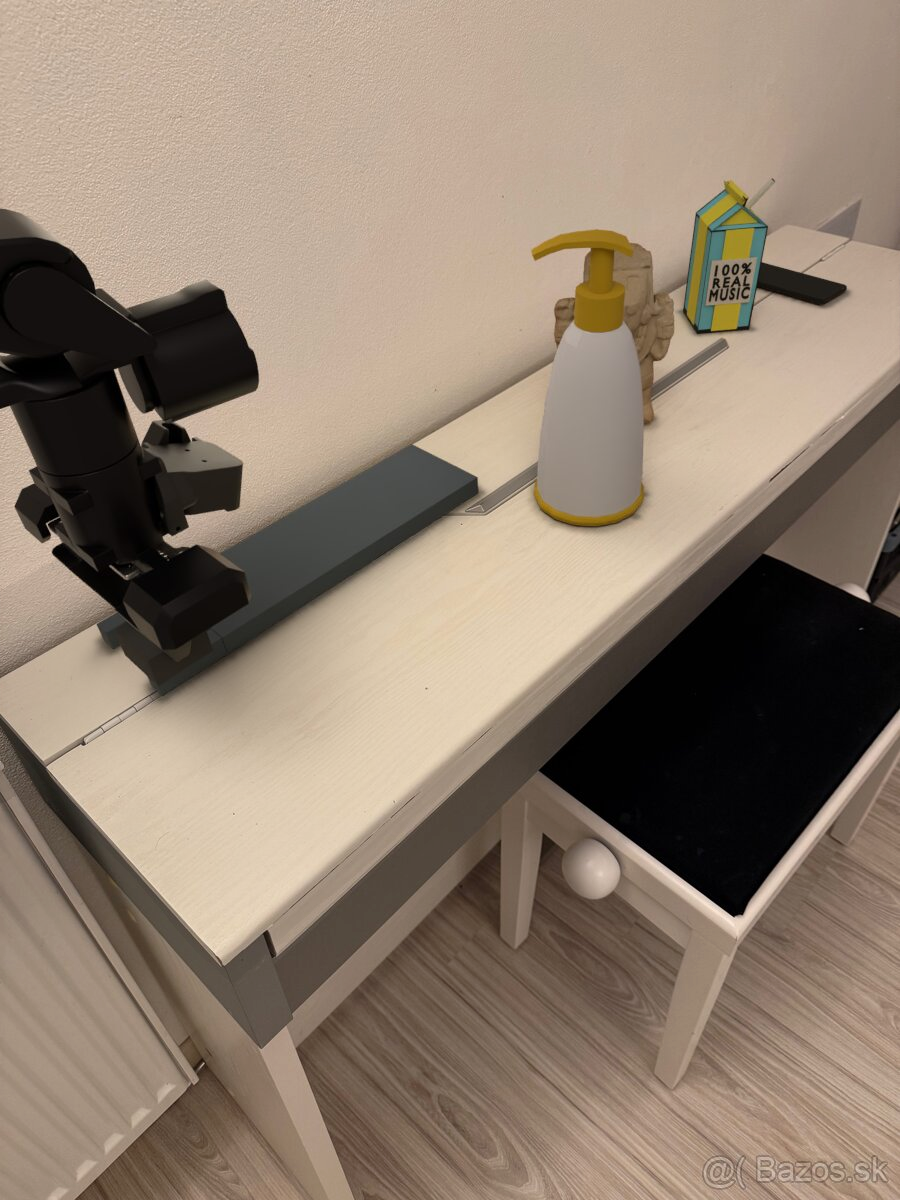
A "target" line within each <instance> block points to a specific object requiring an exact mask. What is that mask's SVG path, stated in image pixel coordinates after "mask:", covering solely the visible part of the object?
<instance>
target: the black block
mask: <svg viewBox="0 0 900 1200" xmlns="http://www.w3.org/2000/svg"><path fill="white" fill-rule="evenodd" d="M114 632H115V634H116V636H117V638H118V641H119V643H120V645H119V646H121V649H122V652H123V654H124V655H125V657H126V658H127V659H128V660H130V662H132V663H133V664H134V665H135V666H136V667H137V668H138V669H139V670H140V671H141V672H142V673H143V674H144V675H145V676H146V677H147V676H148V677H149V678H150V679H151V680H152V681H153V682H154V683H155V684H156V685H157V686H160V685H161V684H163V683H165V682H166V681H168V680H169V679H171V678H172V677H174V676H175V675H177V674H178V673H180V672H182V671H183V670H185V669H186V668H188V667H189V666H191V665H192V664H194V663H196V662H197V661H199V660H200V659H202V658H203V657H205V656H206V655H208V654H209V653H211V652H213V648H212V645H211V642H210V639H209V636H208V633H207V631H205V632H203V633H202V634H200V635H199V636H197V637H195V638H194V639H192V640H191V649H190V654H189V655H188V656H187V657H185V658H183V659H182V660H180V661H178V662H176V661H175V660H173V659H172V658H171V657H170V656H169V655H167V654H166V653H165V652H164V651H163V650H161V649H160V648H159V647H158V646H157V645H155V644H154V643H153V642H151V641H150V640H149V639H148V638H147V637H145V636H144V635H143V634H142V633H140V632H139V631H138V630H136V629H135V628H134V627H133V626H132V625H131V624H130V623H129V622H127V623H125V624H124V625H122V626H120V627H119V628H117V629H115V630H114ZM148 677H147V678H148Z"/></svg>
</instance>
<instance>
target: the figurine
mask: <svg viewBox="0 0 900 1200" xmlns="http://www.w3.org/2000/svg"><path fill="white" fill-rule="evenodd" d="M629 243H630V245H631V247H632V249H633V251H634V252H633V254H632V257H629V256H627V255H625V254H623V253H620V252H618V251H615V252H614V267H613V281H616V282H618V283H621V284H622V285H623V286H624V287H625V299H624V312H623V321H624V322H625V324H626V325H627V327H628V328H629V330H630V331H631V333H632V336H633V339H634V342H635V346H636V349H637V353H638V359H639V364H640V369H641V382H642V394H643V418H644V424H648V423H650V422H652V421H653V420H654V417H655V411H654V408H653V402H652V388H653V387H652V386H653V384H654V378H655V377H654V376H655V372H654V371H655V370H654V362H659V361H662V360H663V359H664V358H665V357H666V356H667V354H668V353H669V348H670V345H671V340H672V338H673V336H674V334H675V314H674V312H675V308H674V307H675V302H674V299H673V298H671V297H670V295H669V294H668V292H658V293H655V294H654V273H653V272H654V264H653V255H652V252H651V251H650V250H648V249H646V248H645V247H643V246H642V245H641V244H639V243H636V242H629ZM590 253H591V250H590V251H588V252H587V253H586V255H585V256H584V262H583V274H582V276H583V279H582V280H583V281H582V283H583V282H586V281H589V273H590ZM574 312H575V297H573V296H572V297H563V298H560V299H558V300H557V301H556V303H555V304H554V307H553V315H554V318H555V321H554V322H555V323H554V331H553V336H554V342H555V344H556V350H557V349H558V346H559V344H560V341H561V339H562V337H563V334H564V332H565V331H566V329H567V328H568V327H569V325H570V324H571V323H572V321H573V320H574Z"/></svg>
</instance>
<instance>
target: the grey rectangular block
mask: <svg viewBox="0 0 900 1200" xmlns="http://www.w3.org/2000/svg"><path fill="white" fill-rule="evenodd" d="M477 494H479V477H478V476H476V475H474V474H472V473H470V472H468V471H467V470H464V469H462V468H460V467H458V466H456V465H454V464H452V463H450V462H448V461H446V460H444V459H443V458H441V457H438V456H437V455H435V454H433V453H431V452H429V451H427V450H425V449H422V448H420V447H418V446H417V445H414V444H413V443H411V444H409V445H407V446H406V447H403V448H402V449H401V450H399V451H397V452H394V453H393V454H391V455H390V456H388V457H385V459H383V460H381V461H379V462H378V463H376V464H374V465H372V466H371V467H368V468H367V469H365V470H363V471H362V472H360V473H358V474H356V475H355V476H353V477H351V478H350V479H348V480H346V481H344V482H343V483H341V484H339V485H337V486H335V487H333V488H332V489H330V490H328V491H327V492H325V493H323V494H321V495H320V496H317V497H316V498H314V499H313V500H311V501H309V502H308V503H305V504H304V505H302V506H301V507H299V508H297V509H295V510H293V511H292V512H290V513H288V514H286V515H284V516H283V517H281V518H279V519H278V520H276V521H274V522H272V523H271V524H269V525H267V526H266V527H263V528H262V529H260V530H258V531H257V532H255V533H253V534H251V535H250V536H248V537H246V538H244V539H243V540H241V541H239V542H237V543H236V544H234V545H232V546H230V547H228V548H227V549H225V550H223V551H221V552H219V554H221V555H222V556H223V557H225V558H226V559H228V560H229V561H230V562H232V563H233V564H234V565H236V566H237V567H239V568H240V569H241V570H243V571H244V572H245V575H246V578H247V582H248V585H249V589H250V592H251V598H250V602H249V604H248V605H246V606H245V607H243V608H242V609H240V610H238V611H237V612H235V613H234V614H232V615H230V616H229V617H227V618H226V619H224V620H222V621H221V622H219V623H218V624H216V625H215V626H213V627H211V628H210V629H208V630H207V633H208V636H209V639H210V642H211V645H212V648H213V652H211V653H209V654H208V655H206V656H205V657H203V658H202V659H200V660H199V661H197V662H196V663H194V664H192V665H191V666H189V667H188V668H186V669H185V670H183V671H182V672H180V673H178V674H177V675H175V676H174V677H172V678H171V679H169V680H168V681H166V682H165V683H163V684H161V685H160V686H157V685H156V684H155V683H154V682H153V681H152V680H151V679H150V678H149V677H148V676H147V675H146V677H147V679H148V681H149V683H150V686H151V687H152V688H153V690H155V691H156V692H157V693H158V694H159V695H160V696H161V697H163V696H165V695H166V694H168V693H170V692H171V691H173V690H174V689H176V688H178V686H180V685H182V684H184V683H185V682H186V681H188V680H190V679H191V678H193V677H194V676H196V675H198V674H199V673H200V672H202V671H204V670H205V669H207V668H208V667H210V666H211V665H213V664H214V663H216V662H217V661H220V660H221V659H222V658H224V657H225V656H228V655H229V654H231V653H232V652H234V651H235V650H236V649H238V648H240V647H241V646H242V645H244V644H246V643H248V642H249V641H250V640H252V639H254V638H255V637H257V636H258V635H260V634H261V633H264V632H265V631H266V630H268V629H270V628H271V627H272V626H273V625H276V623H279V622H280V621H282V620H284V619H285V618H287V617H288V616H290V615H291V614H293V613H294V612H295V611H297V610H298V609H300V608H302V607H303V606H305V605H306V604H308V603H309V602H311V601H313V600H314V599H316V598H317V597H319V596H320V595H322V594H324V593H325V592H327V591H328V590H330V589H331V588H333V587H335V586H336V585H337V584H339V583H340V582H343V581H344V580H346V579H347V578H349V577H350V576H352V575H353V574H355V573H356V572H359V570H361V569H362V568H364V567H366V566H367V565H369V564H371V562H374V561H375V560H376V559H378V558H379V557H381V556H382V555H384V554H386V553H387V552H389V551H390V550H392V549H393V548H395V547H397V546H398V545H400V544H402V542H404V541H406V540H407V539H409V538H410V537H412V536H413V535H415V534H417V533H418V532H420V531H421V530H423V529H425V528H426V527H428V526H429V525H431V524H433V522H435V521H437V520H438V519H440V518H442V517H443V516H445V515H447V514H448V513H449V512H451V511H453V510H454V509H456V508H457V507H458V506H460V505H462V504H464V503H465V502H467V501H468V500H470V499H471V498H473V497H474V496H476V495H477ZM125 623H127V621H126V620H125V619H124V618H123V617H122V616H121V615H120V614H118V613H117V612H116V611H115V612H114V613H113V614H111V615H110V616H108V617H106V618H104V619H102V620H101V621H99V622H98V623H96V627H97V629H98V631H99V634H100V636H101V637H102V640H103V641H104V642H105V643H106V644H107V645H108V646H109V647H110V648H111V649H113V650H114V649H115V648H118V647H119V646H121V645H120V643H119V641H118V638H117V636H116V634H115V632H114V630H115V629H117V628H119V627H120V626H122V625H124V624H125Z"/></svg>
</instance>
